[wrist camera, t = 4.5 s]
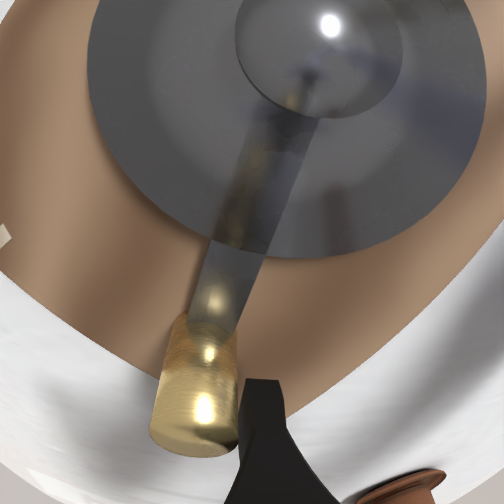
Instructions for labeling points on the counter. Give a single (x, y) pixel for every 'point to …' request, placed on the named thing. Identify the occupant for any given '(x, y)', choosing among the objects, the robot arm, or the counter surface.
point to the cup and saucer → (406, 489)
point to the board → (194, 244)
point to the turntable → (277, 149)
